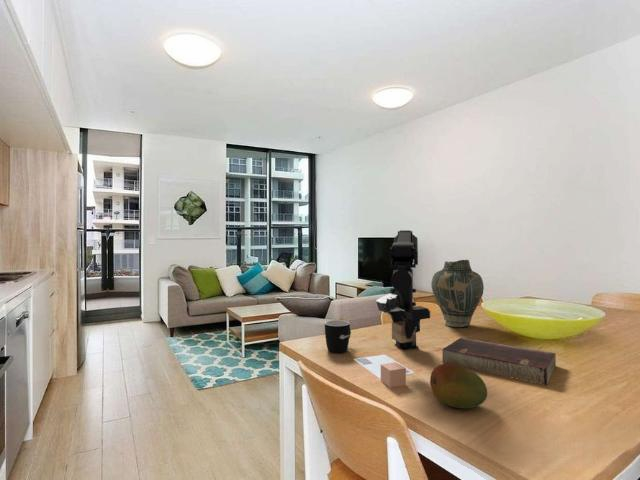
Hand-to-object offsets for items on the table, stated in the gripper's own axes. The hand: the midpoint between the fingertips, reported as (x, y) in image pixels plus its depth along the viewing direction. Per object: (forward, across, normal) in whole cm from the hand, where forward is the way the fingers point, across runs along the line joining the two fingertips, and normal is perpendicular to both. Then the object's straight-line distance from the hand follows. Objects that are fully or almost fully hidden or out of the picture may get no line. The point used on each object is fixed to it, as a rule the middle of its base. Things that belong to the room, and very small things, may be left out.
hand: (403, 336), depth 113 cm
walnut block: (+1, 0, 0) cm, 1 cm away
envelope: (+11, -6, -4) cm, 13 cm away
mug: (+11, -26, -9) cm, 30 cm away
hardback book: (+12, +7, +31) cm, 34 cm away
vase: (+12, -37, +54) cm, 67 cm away
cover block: (+11, +7, -8) cm, 15 cm away
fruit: (+11, +24, -1) cm, 26 cm away
